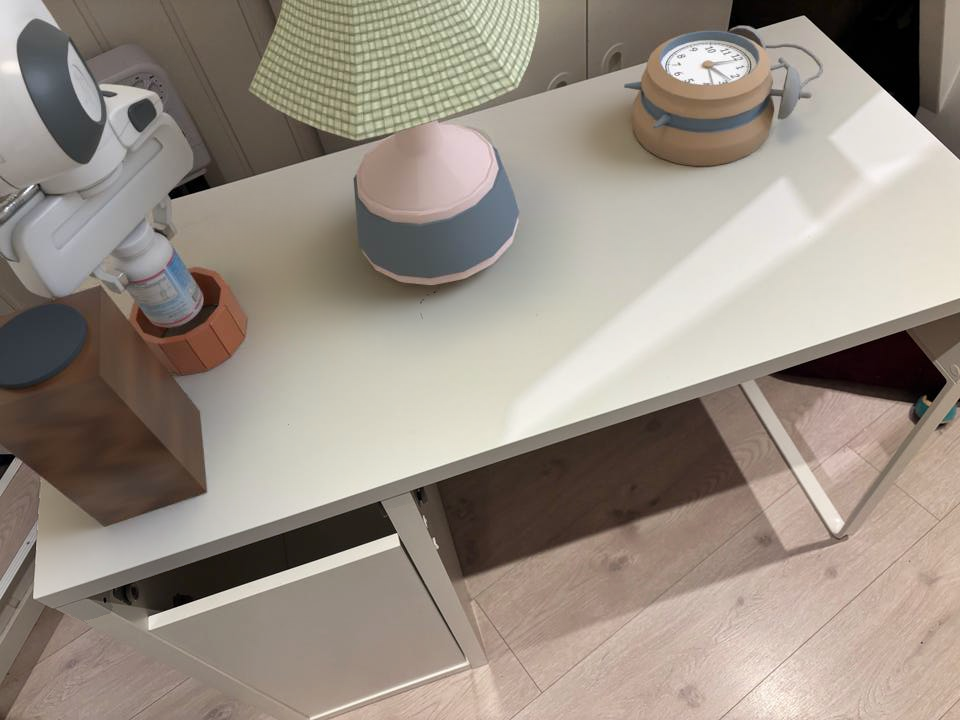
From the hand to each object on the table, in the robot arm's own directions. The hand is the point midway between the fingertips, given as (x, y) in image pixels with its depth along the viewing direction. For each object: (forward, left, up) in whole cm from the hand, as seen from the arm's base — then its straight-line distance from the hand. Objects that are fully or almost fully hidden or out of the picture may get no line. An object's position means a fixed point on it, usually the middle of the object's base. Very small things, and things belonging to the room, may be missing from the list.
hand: (145, 261), depth 74 cm
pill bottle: (0, 0, -7) cm, 7 cm away
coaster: (-15, -6, +7) cm, 18 cm away
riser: (-15, -6, -12) cm, 20 cm away
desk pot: (0, 0, -12) cm, 12 cm away
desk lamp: (+22, -20, -13) cm, 33 cm away
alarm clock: (+52, -46, -13) cm, 71 cm away
